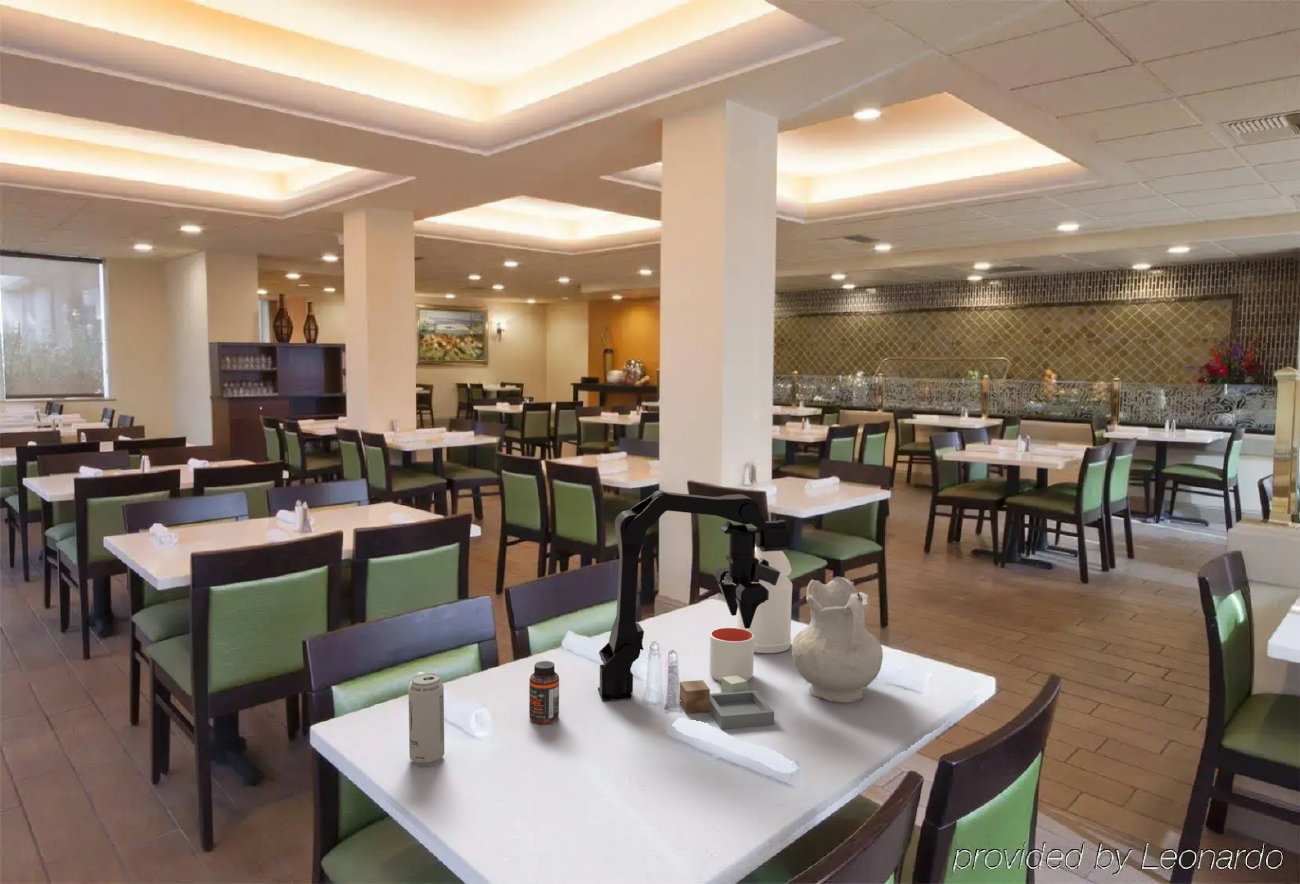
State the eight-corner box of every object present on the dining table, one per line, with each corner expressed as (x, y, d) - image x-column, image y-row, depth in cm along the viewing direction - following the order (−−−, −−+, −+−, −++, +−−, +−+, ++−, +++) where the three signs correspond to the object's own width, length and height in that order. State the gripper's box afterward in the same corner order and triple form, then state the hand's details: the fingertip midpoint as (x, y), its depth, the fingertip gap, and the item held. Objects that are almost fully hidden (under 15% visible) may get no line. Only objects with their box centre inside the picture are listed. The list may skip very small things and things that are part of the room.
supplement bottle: (523, 721, 159) (522, 666, 158) (540, 710, 165) (540, 656, 164) (547, 727, 157) (547, 671, 156) (564, 716, 162) (565, 661, 161)
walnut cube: (685, 714, 163) (686, 691, 163) (679, 704, 168) (680, 681, 168) (709, 712, 164) (709, 689, 164) (702, 702, 169) (702, 679, 169)
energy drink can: (408, 754, 145) (407, 674, 144) (442, 749, 147) (441, 670, 146) (410, 770, 139) (409, 686, 138) (446, 764, 141) (445, 682, 140)
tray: (721, 729, 157) (721, 716, 156) (705, 706, 167) (705, 694, 167) (774, 724, 159) (774, 711, 159) (754, 701, 170) (755, 690, 170)
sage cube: (731, 702, 170) (731, 684, 169) (721, 695, 173) (721, 677, 173) (746, 698, 172) (747, 680, 171) (736, 692, 175) (736, 674, 175)
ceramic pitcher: (905, 712, 168) (917, 596, 166) (826, 719, 160) (838, 597, 159) (843, 676, 188) (854, 572, 186) (771, 681, 181) (781, 572, 179)
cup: (755, 685, 179) (756, 642, 178) (710, 684, 179) (711, 641, 178) (750, 669, 189) (751, 627, 188) (708, 668, 189) (708, 627, 188)
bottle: (729, 637, 211) (731, 532, 209) (779, 634, 214) (782, 531, 211) (745, 655, 197) (748, 544, 195) (798, 652, 200) (802, 542, 197)
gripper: (792, 560, 169) (790, 632, 170) (761, 542, 187) (759, 607, 188) (742, 562, 166) (740, 636, 168) (715, 543, 185) (714, 610, 186)
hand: (740, 621), depth 177 cm, fingers open, 9 cm apart
